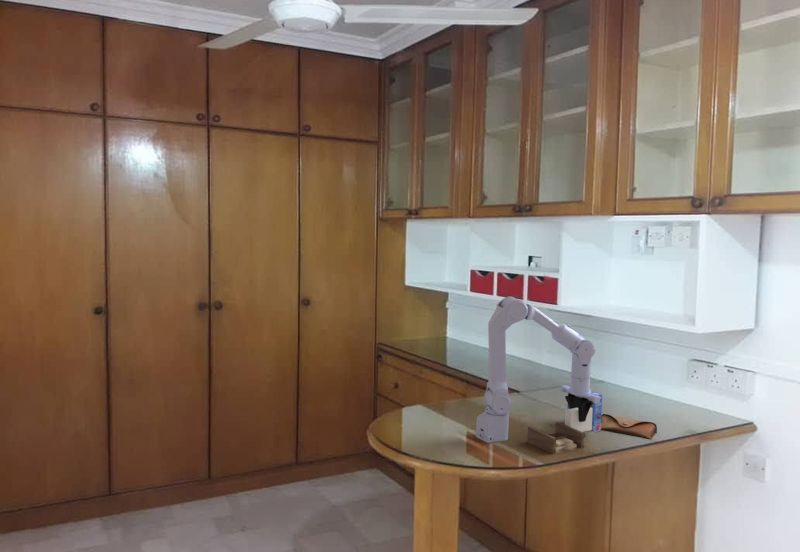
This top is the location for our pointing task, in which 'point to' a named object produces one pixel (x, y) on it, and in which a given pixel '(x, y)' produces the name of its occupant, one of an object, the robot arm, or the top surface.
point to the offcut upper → (563, 442)
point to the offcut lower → (566, 447)
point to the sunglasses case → (628, 426)
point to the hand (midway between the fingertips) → (578, 420)
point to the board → (578, 420)
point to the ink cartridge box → (596, 414)
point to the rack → (555, 438)
